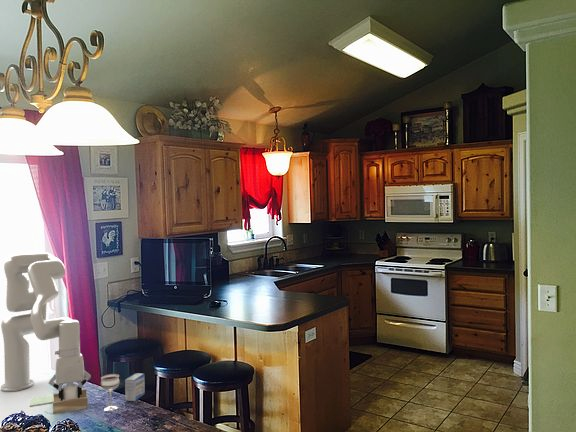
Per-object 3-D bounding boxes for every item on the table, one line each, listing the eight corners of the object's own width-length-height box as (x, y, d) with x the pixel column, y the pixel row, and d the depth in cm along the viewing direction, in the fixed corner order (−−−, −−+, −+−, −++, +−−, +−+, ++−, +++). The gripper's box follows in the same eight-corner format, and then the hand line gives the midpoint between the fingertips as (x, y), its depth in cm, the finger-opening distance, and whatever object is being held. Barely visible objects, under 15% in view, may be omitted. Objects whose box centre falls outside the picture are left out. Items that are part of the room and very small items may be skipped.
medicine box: (135, 401, 188) (134, 379, 188) (125, 401, 189) (124, 379, 189) (145, 394, 196) (144, 373, 196) (135, 393, 197) (134, 372, 197)
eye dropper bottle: (68, 409, 182) (68, 378, 182) (61, 406, 185) (60, 375, 185) (79, 405, 185) (79, 374, 185) (71, 402, 189) (71, 372, 189)
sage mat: (31, 399, 193) (31, 397, 193) (55, 395, 197) (55, 393, 197) (29, 406, 185) (29, 405, 185) (55, 402, 189) (55, 401, 189)
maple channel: (53, 403, 188) (53, 393, 188) (86, 398, 193) (86, 388, 193) (53, 414, 178) (52, 403, 178) (87, 408, 183) (87, 397, 183)
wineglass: (123, 406, 183) (123, 375, 183) (108, 413, 177) (108, 381, 177) (112, 403, 187) (111, 373, 187) (97, 409, 181) (96, 378, 181)
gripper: (44, 357, 178) (45, 405, 178) (93, 351, 186) (94, 397, 185) (45, 352, 185) (46, 399, 185) (92, 347, 192) (93, 391, 192)
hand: (70, 398), depth 185 cm, fingers closed on eye dropper bottle, 5 cm apart
